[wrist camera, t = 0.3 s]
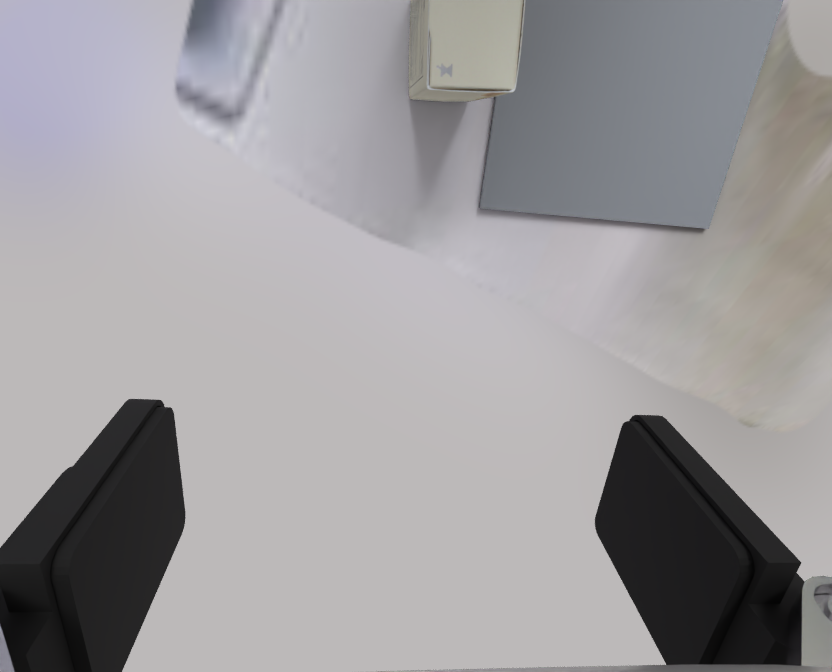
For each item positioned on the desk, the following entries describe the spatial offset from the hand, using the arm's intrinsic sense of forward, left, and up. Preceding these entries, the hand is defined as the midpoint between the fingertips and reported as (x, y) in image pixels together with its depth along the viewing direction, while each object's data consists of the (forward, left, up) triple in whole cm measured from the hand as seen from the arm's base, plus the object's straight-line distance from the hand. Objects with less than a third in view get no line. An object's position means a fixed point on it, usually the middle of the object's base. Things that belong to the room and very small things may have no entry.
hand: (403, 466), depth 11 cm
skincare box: (-11, +3, -30) cm, 32 cm away
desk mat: (-10, +16, -30) cm, 35 cm away
